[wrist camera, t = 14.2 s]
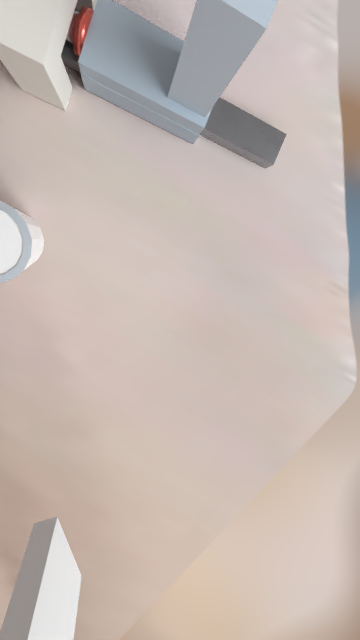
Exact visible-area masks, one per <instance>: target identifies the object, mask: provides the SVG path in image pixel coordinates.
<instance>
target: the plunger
mask: <svg viewBox="0 0 360 640" xmlns="http://www.w3.org/2000/svg"><path fill="white" fill-rule="evenodd" d="M93 12H94V10H92V9H90V8H89V7H87V6H85V5H84V6H83V7H82V8H81V10H80V12H77V11H75V10H74V14H73V17H72V20H71V24H70V27H69V30H68V34H67V37H66V40H68V41H70V42H71V43H73V51H74V54H76V55H78V56H80V54H81V51H82V47H83V44H84V41H85V38H86V35H87V31H88V28H89V25H90V22H91V19H92V15H93Z"/></svg>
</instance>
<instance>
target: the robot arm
mask: <svg viewBox="0 0 360 640" xmlns="http://www.w3.org/2000/svg"><path fill="white" fill-rule="evenodd" d="M80 584H81V574H80V572H79V569H78V567H77V564H76V562H75V559H74V557H73V554H72V552H71V549H70V547H69V545H68V542H67V540H66V537H65V535H64V532H63V530H62V527H61V525H60V522H59V520H58V517H55V518H52V519H48V520H45V521H42V522H38V523H35V524H34V526H33V530H32V533H31V536H30V539H29V542H28V545H27V549H26V552H25V555H24V558H23V561H22V564H21V568H20V571H19V574H18V577H17V580H16V584H15V587H14V590H13V593H12V596H11V599H10V603H9V606H8V609H7V612H6V615H5V618H4V622H3V625H2V628H1V631H0V640H73V638H74V630H75V623H76V615H77V607H78V599H79V592H80Z"/></svg>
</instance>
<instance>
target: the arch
mask: <svg viewBox="0 0 360 640" xmlns="http://www.w3.org/2000/svg"><path fill="white" fill-rule="evenodd" d="M96 3H97V0H0V60H1V62H2V63H3V64H4V66H5V67H6V69H7V70H8V71H9V73H10V74H11V75H12V77H13V78H14V80H15V81H16V82H17V84H18V85H19V87H20V88H21V89H22V90H23V91H25V92H27V93H29V94H32V95H34V96H36V97H38V98H40V99H42V100H44V101H46V102H48V103H50V104H52V105H54V106H56V107H58V108H61V109H63V110H65V111H66V109H67V106H68V103H69V99H70V96H71V93H72V90H73V88H72V85H71V83H70V80H69V77H68V75H67V72H66V69H65V66H64V64H63V61H62V58H61V53H62V50H63V47H64V44H65V40H66V37H67V34H68V30H69V27H70V24H71V20H72V17H73V14H74V10H75V9H77V10H78V11H80V10H81V8H82V7H83V6H84V5H85V6H87V7H89V8H90V9H92V10H94V9H95V6H96Z"/></svg>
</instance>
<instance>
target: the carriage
mask: <svg viewBox="0 0 360 640" xmlns="http://www.w3.org/2000/svg"><path fill="white" fill-rule="evenodd" d="M277 1H278V0H197V2H196V5H195V8H194V12H193V15H192V18H191V21H190V25H189V28H188V31H187V35H186V38H185V41H182V40H180V39H178V38H177V37H175V36H173V35H172V34H170V33H168V32H166V31H165V30H163V29H161V28H159V27H158V26H156V25H154V24H153V23H151V22H149V21H147V20H146V19H144V18H142V17H140V16H139V15H137V14H135V13H134V12H132V11H130V10H128V9H127V8H125V7H123V6H121V5H120V4H118V3H116V2H115V1H113V0H97V3H96V6H95V9H94V12H93V15H92V19H91V22H90V25H89V28H88V31H87V35H86V38H85V41H84V44H83V47H82V51H81V54H80V57H79V60H78V64H79V67H80V71H81V77H82V81H83V84H84V88H85V90H87V91H89V92H91V93H93V94H95V95H97V96H99V97H101V98H103V99H105V100H107V101H109V102H111V103H113V104H115V105H117V106H119V107H121V108H123V109H125V110H127V111H129V112H131V113H132V114H134V115H136V116H138V117H140V118H142V119H144V120H146V121H148V122H150V123H152V124H154V125H156V126H158V127H160V128H162V129H164V130H166V131H168V132H170V133H172V134H174V135H176V136H178V137H180V138H182V139H184V140H186V141H188V142H190V143H192V144H193V143H194V142H195V141H196V139H197V138H198V137H199V135H200V133H201V132H202V131H203V129H204V128H205V125H206V123H207V120H208V118H209V115H210V112H211V110H212V107H213V106H214V104H215V103H216V101H217V100H218V98H219V97H220V95H221V94H222V93H223V91H224V90H225V88H226V87H227V85H228V84H229V82H230V81H231V79H232V78H233V76H234V75H235V74H236V72H237V71H238V69H239V68H240V66H241V65H242V63H243V62H244V60H245V59H246V58H247V56H248V55H249V53H250V52H251V50H252V49H253V47H254V46H255V44H256V43H257V41H258V40H259V39H260V37H261V36H262V34H263V33H264V31H265V30H266V28H267V26H268V23H269V21H270V18H271V16H272V13H273V11H274V8H275V6H276V3H277Z"/></svg>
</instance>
